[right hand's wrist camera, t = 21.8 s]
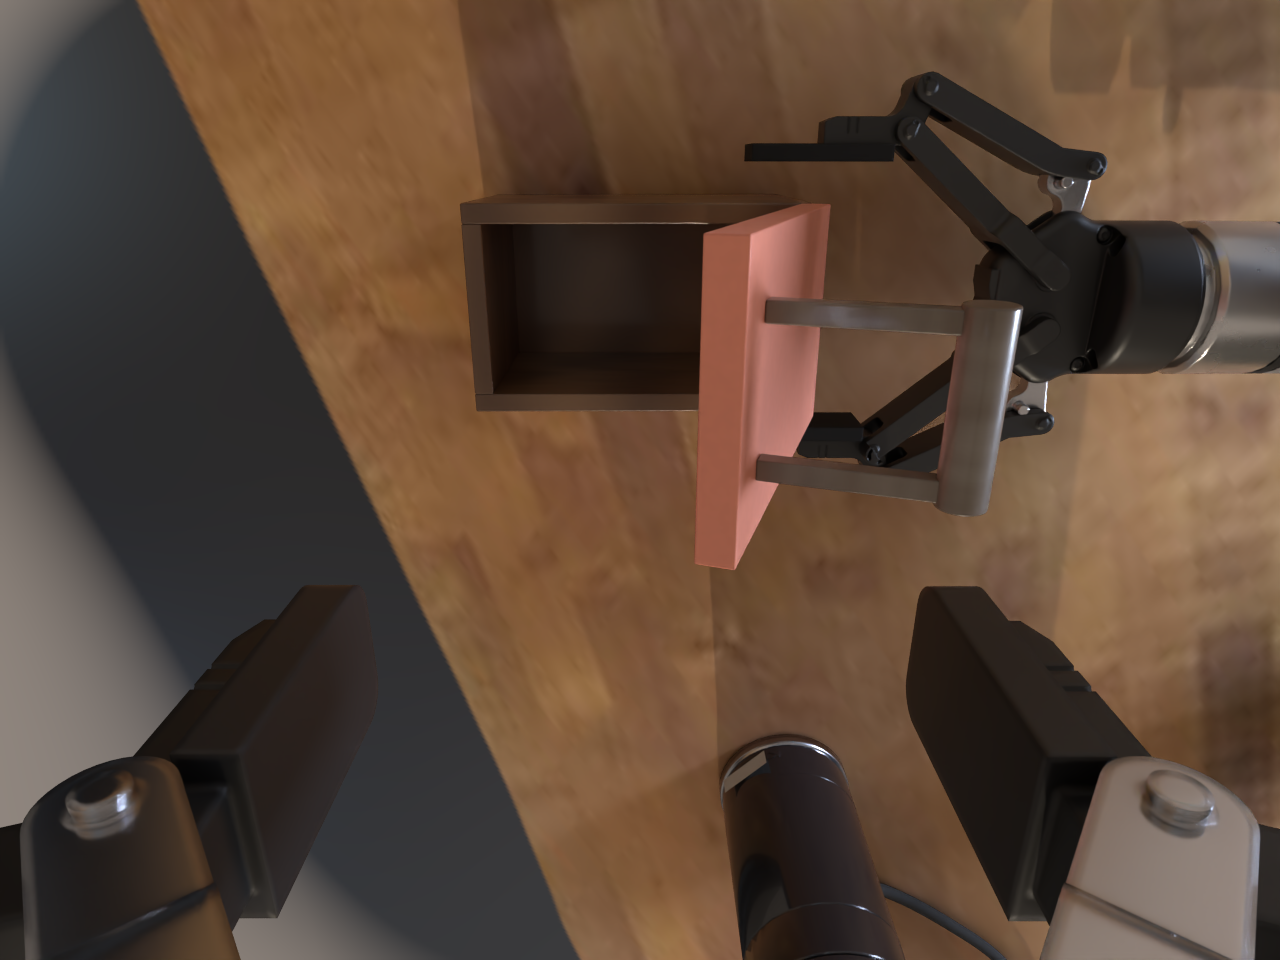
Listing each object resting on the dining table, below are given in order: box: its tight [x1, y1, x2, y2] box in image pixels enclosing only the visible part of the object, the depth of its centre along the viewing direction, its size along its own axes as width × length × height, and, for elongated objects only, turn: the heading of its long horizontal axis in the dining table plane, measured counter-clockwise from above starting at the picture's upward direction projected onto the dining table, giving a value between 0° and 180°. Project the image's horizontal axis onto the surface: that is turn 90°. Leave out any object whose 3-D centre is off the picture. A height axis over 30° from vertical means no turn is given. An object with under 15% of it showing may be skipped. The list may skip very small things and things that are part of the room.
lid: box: [694, 204, 1023, 570], centre depth 28 cm, size 16×10×8 cm
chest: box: [460, 194, 812, 411], centre depth 41 cm, size 16×10×10 cm, turn 90°
